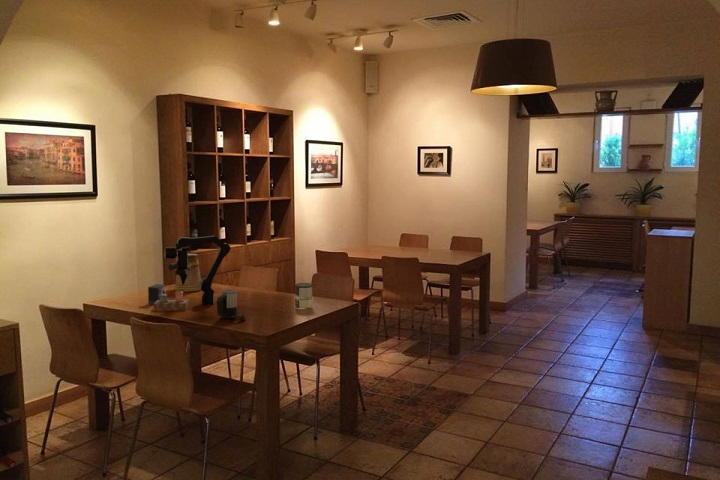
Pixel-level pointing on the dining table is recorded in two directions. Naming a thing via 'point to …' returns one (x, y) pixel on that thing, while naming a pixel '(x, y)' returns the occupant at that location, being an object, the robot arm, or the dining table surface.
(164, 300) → the grey plug
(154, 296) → the small box
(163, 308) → the socket block
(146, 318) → the dining table surface
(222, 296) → the milk frother
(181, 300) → the brick plug
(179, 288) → the tankard
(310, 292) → the coffee can
